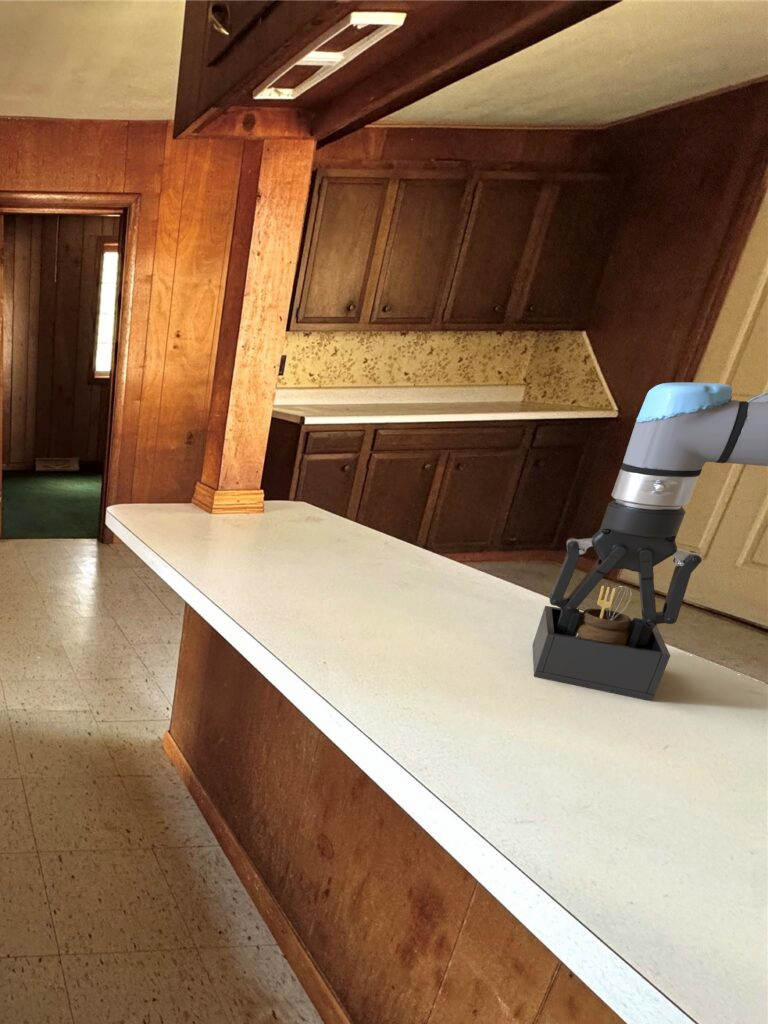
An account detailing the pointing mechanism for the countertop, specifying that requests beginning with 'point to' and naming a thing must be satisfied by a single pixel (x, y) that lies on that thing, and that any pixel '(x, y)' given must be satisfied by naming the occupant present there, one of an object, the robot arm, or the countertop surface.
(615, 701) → the countertop surface
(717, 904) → the countertop surface
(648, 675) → the dark grey open box
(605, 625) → the utensil holder
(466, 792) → the countertop surface
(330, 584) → the countertop surface
